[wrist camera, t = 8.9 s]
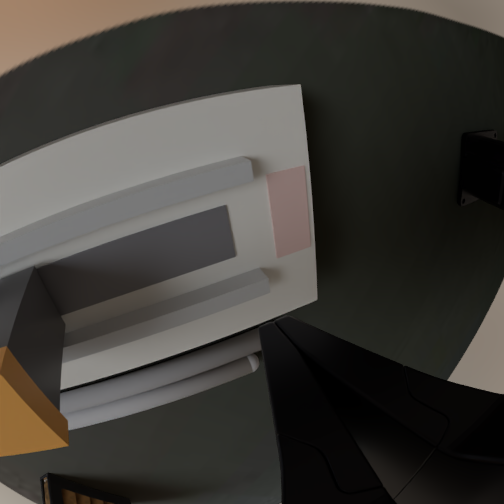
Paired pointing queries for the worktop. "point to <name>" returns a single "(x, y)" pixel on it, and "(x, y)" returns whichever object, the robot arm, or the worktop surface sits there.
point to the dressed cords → (162, 382)
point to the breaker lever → (30, 366)
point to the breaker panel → (166, 226)
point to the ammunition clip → (74, 493)
